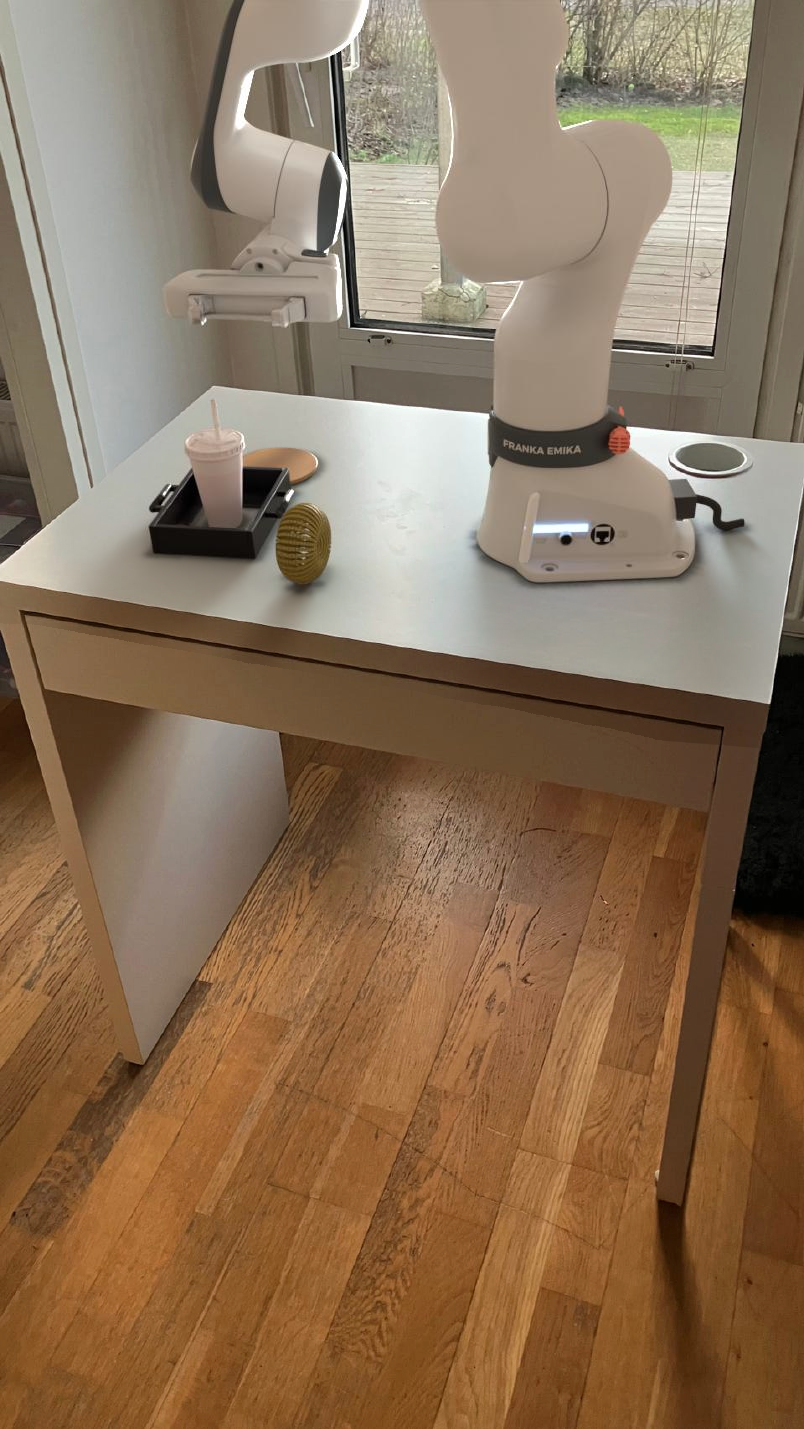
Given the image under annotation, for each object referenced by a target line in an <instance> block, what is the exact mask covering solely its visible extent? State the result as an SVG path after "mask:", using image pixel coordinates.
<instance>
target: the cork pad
mask: <svg viewBox="0 0 804 1429" xmlns="http://www.w3.org/2000/svg"><path fill="white" fill-rule="evenodd" d="M318 463H319V462H318V459H317V457H316V456H315V455H314V454H312V453H311V452H309V451H306V450H303V449H301V448H295V447H270V448H269V447H268V448H263V449H259V450H255V451H251V452H250V453H249V452H248V453H247V454H244V455H242V466H245V467H269V468H289V474H290V484H291V485H295V484H298V483H301V482H304V481H306V480H307V479H310V477H312V476H313V475H315V473H316V472H317V470H318V466H319V464H318Z"/></svg>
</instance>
